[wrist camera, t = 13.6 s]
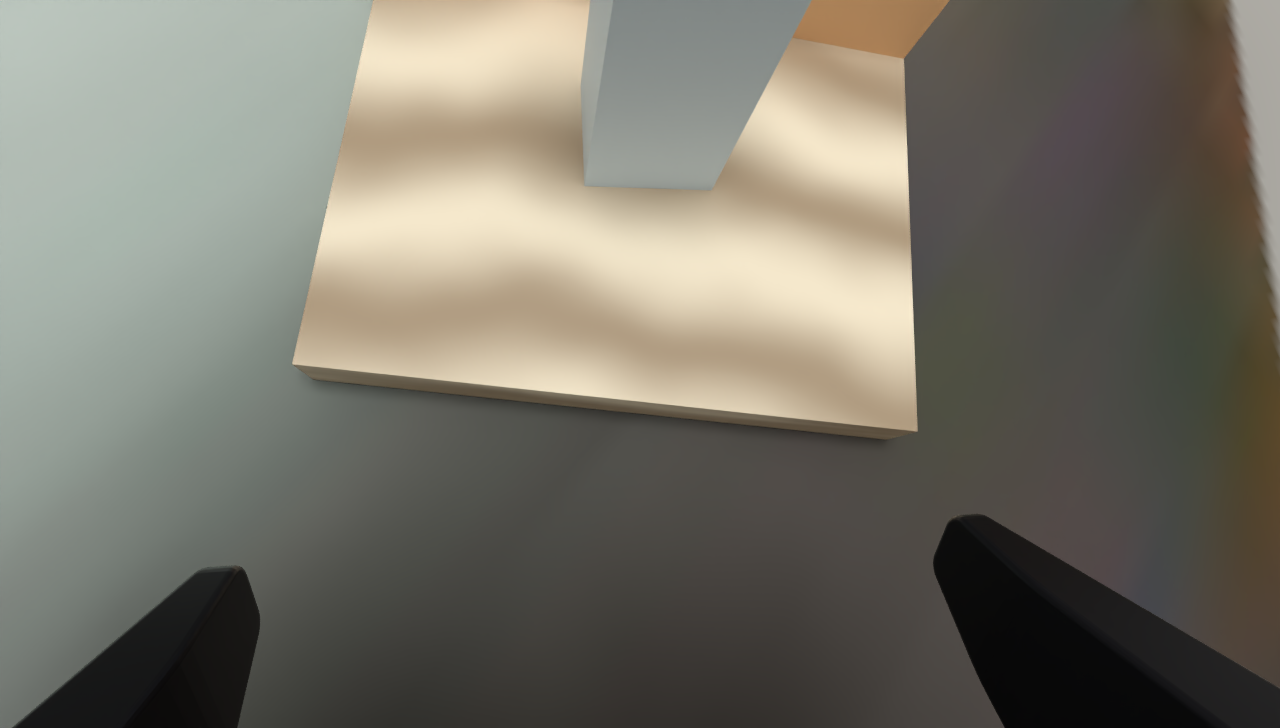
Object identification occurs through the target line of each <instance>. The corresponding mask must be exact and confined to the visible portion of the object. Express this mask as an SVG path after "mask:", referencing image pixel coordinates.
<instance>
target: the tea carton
mask: <svg viewBox="0 0 1280 728" xmlns="http://www.w3.org/2000/svg"><path fill="white" fill-rule="evenodd" d="M811 1H812V0H590V6H589V15H588V24H587V33H586V42H585V50H584V59H583V68H582V77H581V110H582V137H583V165H584V186H595V187H624V188H654V189H684V190H712V188H713V187H714V185H715V183H716V181H717V179H718V177H719V175H720V173H721V171H722V170H723V168H724V166H725V164H726V162H727V160H728V158H729V156H730V154H731V152H732V151H733V149H734V147H735V145H736V143H737V141H738V139H739V137H740V135H741V133H742V132H743V130H744V128H745V126H746V124H747V122H748V120H749V118H750V116H751V115H752V113H753V111H754V109H755V107H756V105H757V103H758V101H759V99H760V97H761V96H762V94H763V92H764V90H765V88H766V86H767V84H768V82H769V80H770V78H771V77H772V75H773V73H774V71H775V69H776V67H777V65H778V63H779V61H780V59H781V58H782V56H783V54H784V52H785V50H786V48H787V46H788V44H789V42H790V41H791V39H792V37H793V35H794V33H795V31H796V29H797V27H798V25H799V23H800V22H801V20H802V18H803V16H804V14H805V12H806V10H807V8H808V6H809V4H810V3H811Z"/></svg>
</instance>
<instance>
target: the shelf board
mask: <svg viewBox="0 0 1280 728" xmlns="http://www.w3.org/2000/svg"><path fill="white" fill-rule="evenodd" d="M589 6H590V0H373V4H372V8H371V13H370V17H369V22H368V26H367V31H366V35H365V40H364V44H363V49H362V53H361V58H360V62H359V67H358V71H357V76H356V80H355V85H354V89H353V94H352V98H351V103H350V107H349V111H348V116H347V120H346V125H345V129H344V134H343V138H342V143H341V147H340V152H339V156H338V161H337V165H336V170H335V174H334V179H333V183H332V188H331V192H330V197H329V201H328V206H327V210H326V215H325V219H324V224H323V228H322V233H321V237H320V242H319V246H318V251H317V255H316V260H315V264H314V269H313V273H312V278H311V282H310V287H309V291H308V296H307V300H306V305H305V309H304V313H303V318H302V322H301V327H300V331H299V336H298V340H297V345H296V349H295V354H294V358H293V363H292V364H293V365H294V366H295V367H297V368H298V369H300V370H301V371H302V372H304V373H305V374H307V375H308V376H309V377H311V378H312V379H314V380H323V381H333V382H342V383H352V384H361V385H371V386H380V387H390V388H399V389H409V390H419V391H428V392H438V393H447V394H457V395H466V396H476V397H485V398H495V399H504V400H514V401H523V402H533V403H542V404H552V405H561V406H571V407H580V408H590V409H599V410H609V411H618V412H628V413H637V414H647V415H657V416H666V417H676V418H685V419H695V420H704V421H714V422H723V423H733V424H742V425H752V426H761V427H771V428H780V429H790V430H799V431H809V432H818V433H828V434H837V435H847V436H856V437H866V438H875V439H885V440H887V439H891V438H895V437H899V436H902V435H906V434H910V433H914V432H917V406H916V379H915V352H914V325H913V297H912V270H911V243H910V216H909V189H908V162H907V135H906V107H905V80H904V59H902V58H897V57H892V56H887V55H881V54H876V53H871V52H866V51H860V50H855V49H850V48H845V47H839V46H834V45H829V44H824V43H818V42H813V41H808V40H803V39H797V38H792V39H791V41H790V42H789V44H788V46H787V48H786V50H785V52H784V54H783V56H782V58H781V59H780V61H779V63H778V65H777V67H776V69H775V71H774V73H773V75H772V77H771V78H770V80H769V82H768V84H767V86H766V88H765V90H764V92H763V94H762V96H761V97H760V99H759V101H758V103H757V105H756V107H755V109H754V111H753V113H752V115H751V116H750V118H749V120H748V122H747V124H746V126H745V128H744V130H743V132H742V133H741V135H740V137H739V139H738V141H737V143H736V145H735V147H734V149H733V151H732V152H731V154H730V156H729V158H728V160H727V162H726V164H725V166H724V168H723V170H722V171H721V173H720V175H719V177H718V179H717V181H716V183H715V185H714V187H713V188H712V190H684V189H654V188H624V187H595V186H584V165H583V137H582V110H581V77H582V68H583V59H584V50H585V42H586V33H587V24H588V15H589Z"/></svg>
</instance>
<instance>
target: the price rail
mask: <svg viewBox="0 0 1280 728" xmlns="http://www.w3.org/2000/svg"><path fill="white" fill-rule="evenodd" d="M948 2H949V0H812V1H811V3H810V4H809V6H808V8H807V10H806V12H805V14H804V16H803V18H802V20H801V22H800V23H799V25H798V27H797V29H796V31H795V33H794V35H793V37H792V38H797V39H803V40H808V41H813V42H818V43H824V44H829V45H834V46H839V47H845V48H850V49H855V50H860V51H866V52H871V53H876V54H881V55H887V56H892V57H897V58H902V59H904V58H905V56H906V55H907V54H908V53H909V51H910V50H911V49H912V48H913V46H914V45H915V44H916V42H917V41H918V40H919V39H920V37H921V36H922V35H923V34H924V32H925V31H926V30H927V28H928V27H929V26H930V25H931V23H932V22H933V21H934V19H935V18H936V17H937V16H938V14H939V13H940V12H941V11H942V9H943V8H944V7H945V5H946V4H947V3H948Z"/></svg>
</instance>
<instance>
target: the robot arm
mask: <svg viewBox="0 0 1280 728" xmlns="http://www.w3.org/2000/svg"><path fill="white" fill-rule="evenodd" d="M933 566H934V572H935V575H936V578H937V581H938V583H939V585H940V588H941V590H942V593H943V595H944V597H945V600H946V602H947V604H948V607H949V609H950V612H951V614H952V616H953V619H954V621H955V624H956V626H957V628H958V631H959V633H960V635H961V638H962V640H963V643H964V645H965V647H966V650H967V652H968V655H969V657H970V659H971V662H972V664H973V666H974V668H975V671H976V673H977V675H978V677H979V679H980V681H981V683H982V685H983V687H984V689H985V691H986V693H987V695H988V697H989V699H990V701H991V703H992V705H993V707H994V709H995V710H996V712H997V714H998V716H999V718H1000V720H1001V722H1002V724H1003V725H1004V727H1005V728H1280V688H1279V687H1277V686H1275V685H1274V684H1272V683H1270V682H1268V681H1267V680H1265V679H1263V678H1262V677H1260V676H1258V675H1256V674H1255V673H1253V672H1251V671H1250V670H1248V669H1246V668H1245V667H1243V666H1241V665H1239V664H1238V663H1236V662H1234V661H1233V660H1231V659H1229V658H1227V657H1226V656H1224V655H1222V654H1221V653H1219V652H1217V651H1216V650H1214V649H1212V648H1210V647H1209V646H1207V645H1205V644H1204V643H1202V642H1200V641H1198V640H1197V639H1195V638H1193V637H1192V636H1190V635H1188V634H1187V633H1185V632H1183V631H1181V630H1180V629H1178V628H1176V627H1175V626H1173V625H1171V624H1169V623H1168V622H1166V621H1164V620H1163V619H1161V618H1159V617H1158V616H1156V615H1154V614H1152V613H1151V612H1149V611H1147V610H1146V609H1144V608H1142V607H1140V606H1139V605H1137V604H1135V603H1134V602H1132V601H1130V600H1129V599H1127V598H1125V597H1123V596H1122V595H1120V594H1118V593H1117V592H1115V591H1113V590H1111V589H1110V588H1108V587H1106V586H1105V585H1103V584H1101V583H1100V582H1098V581H1096V580H1094V579H1093V578H1091V577H1089V576H1088V575H1086V574H1084V573H1082V572H1081V571H1079V570H1077V569H1076V568H1074V567H1072V566H1071V565H1069V564H1067V563H1065V562H1064V561H1062V560H1060V559H1059V558H1057V557H1055V556H1053V555H1052V554H1050V553H1048V552H1047V551H1045V550H1043V549H1042V548H1040V547H1038V546H1036V545H1035V544H1033V543H1031V542H1030V541H1028V540H1026V539H1024V538H1023V537H1021V536H1019V535H1018V534H1016V533H1014V532H1013V531H1011V530H1009V529H1007V528H1006V527H1004V526H1002V525H1001V524H999V523H997V522H995V521H994V520H992V519H990V518H989V517H987V516H985V515H981V514H970V515H957V516H954V517H952V518H951V519H950V520H949V522H948V523H947V526H946V528H945V531H944V533H943V535H942V538H941V540H940V543H939V545H938V548H937V550H936V552H935V555H934V560H933ZM259 629H260V614H259V610H258V607H257V604H256V601H255V598H254V595H253V592H252V589H251V586H250V583H249V580H248V577H247V574H246V572H245V570H244V569H243V568H242V567H240V566H236V565H234V566H220V567H207V568H203V569H201V570H199V571H197V572H196V573H194V574H193V575H192V576H191V577H189V578H188V579H187V580H186V581H185V582H183V583H182V584H181V585H180V586H179V587H178V588H176V589H175V590H174V591H173V592H172V593H170V594H169V595H168V596H167V597H166V598H165V599H163V600H162V601H161V602H160V603H159V604H157V605H156V606H155V607H154V608H153V609H152V610H150V611H149V612H148V613H147V614H146V615H144V616H143V617H142V618H141V619H140V620H139V621H137V622H136V623H135V624H134V625H133V626H131V627H130V628H129V629H128V630H127V631H126V632H124V633H123V634H122V635H121V636H120V637H118V638H117V639H116V640H115V641H114V642H113V643H111V644H110V645H109V646H108V647H107V648H105V649H104V650H103V651H102V652H101V653H100V654H98V655H97V656H96V657H95V658H94V659H92V660H91V661H90V662H89V663H88V664H87V665H85V666H84V667H83V668H82V669H81V670H80V671H78V672H77V673H76V674H75V675H74V676H72V677H71V678H70V679H69V680H68V681H67V682H65V683H64V684H63V685H62V686H61V687H59V688H58V689H57V690H56V691H55V692H54V693H52V694H51V695H50V696H49V697H48V698H46V699H45V700H44V701H43V702H42V703H41V704H39V705H38V706H37V707H36V708H35V709H33V710H32V711H31V712H30V713H29V714H28V715H26V716H25V717H24V718H23V719H22V720H20V721H19V722H18V723H17V724H16V725H15V726H13V727H12V728H237V726H238V722H239V718H240V713H241V709H242V705H243V700H244V696H245V692H246V687H247V683H248V679H249V674H250V670H251V666H252V661H253V657H254V653H255V648H256V644H257V640H258V635H259Z"/></svg>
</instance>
